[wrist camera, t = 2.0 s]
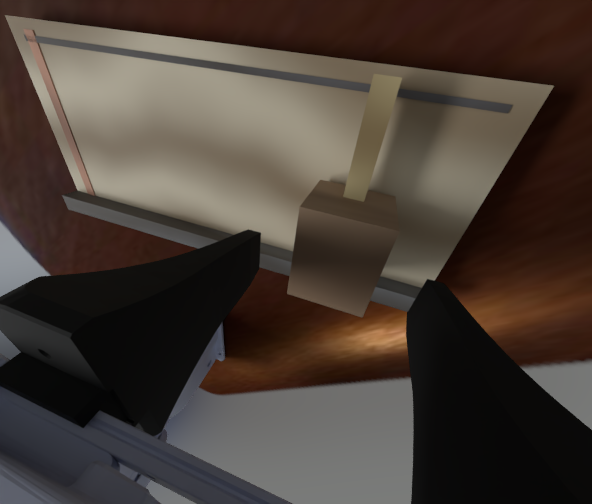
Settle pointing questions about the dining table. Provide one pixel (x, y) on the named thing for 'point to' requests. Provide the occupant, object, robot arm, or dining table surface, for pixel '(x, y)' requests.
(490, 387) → the robot arm
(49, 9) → the dining table surface
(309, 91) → the cream flat tray
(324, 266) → the marking gauge
